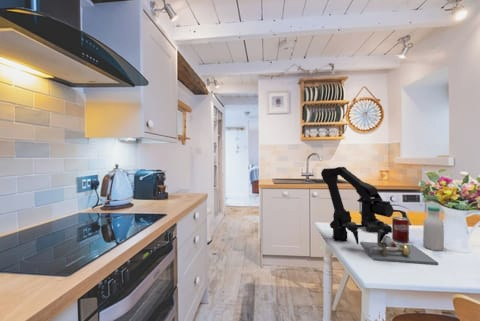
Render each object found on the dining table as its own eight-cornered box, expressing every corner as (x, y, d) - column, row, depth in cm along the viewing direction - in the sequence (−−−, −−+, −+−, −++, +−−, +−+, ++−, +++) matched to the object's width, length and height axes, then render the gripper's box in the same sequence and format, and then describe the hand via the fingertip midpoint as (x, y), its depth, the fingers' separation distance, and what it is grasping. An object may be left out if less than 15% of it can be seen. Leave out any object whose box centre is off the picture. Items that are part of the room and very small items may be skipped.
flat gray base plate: (374, 260, 102) (374, 258, 102) (360, 243, 121) (360, 241, 121) (438, 264, 97) (438, 262, 97) (412, 246, 117) (412, 244, 117)
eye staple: (383, 258, 103) (383, 246, 103) (378, 254, 108) (378, 242, 108) (386, 259, 103) (386, 246, 103) (381, 254, 108) (381, 242, 108)
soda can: (411, 243, 121) (411, 220, 120) (395, 242, 122) (395, 219, 122) (404, 238, 128) (404, 216, 128) (389, 238, 129) (390, 216, 129)
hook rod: (372, 254, 104) (372, 244, 104) (368, 250, 109) (368, 241, 109) (410, 257, 102) (410, 247, 101) (405, 253, 106) (405, 243, 106)
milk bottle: (445, 252, 110) (445, 209, 109) (424, 249, 114) (424, 207, 113) (442, 246, 116) (442, 206, 116) (422, 243, 120) (422, 204, 120)
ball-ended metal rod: (379, 242, 120) (379, 234, 120) (388, 242, 119) (388, 235, 119) (389, 251, 108) (389, 243, 108) (398, 251, 107) (398, 243, 107)
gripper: (351, 215, 106) (351, 250, 107) (397, 217, 103) (397, 253, 103) (345, 210, 117) (345, 241, 118) (386, 211, 114) (386, 243, 114)
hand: (368, 244), depth 113 cm, fingers open, 9 cm apart
